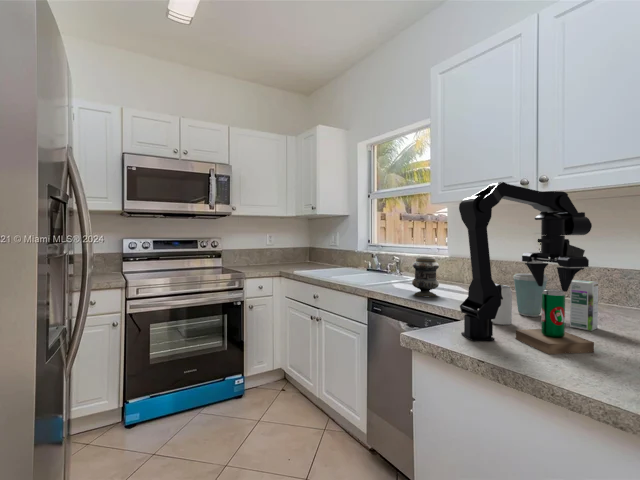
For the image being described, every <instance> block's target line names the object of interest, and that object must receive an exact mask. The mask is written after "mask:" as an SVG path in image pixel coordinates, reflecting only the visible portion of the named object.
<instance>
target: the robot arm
mask: <svg viewBox="0 0 640 480" xmlns="http://www.w3.org/2000/svg"><path fill="white" fill-rule="evenodd" d="M502 200H507V201H509V202H510V201H511V202H514V203H515V202H516V203H521V204H525V205H529V206H531V207H532V208H533V209H535V210H536V211H538V212H540V213H539V214H538V215H536V216H535V217H534V220H535V221H540V222H541V225H540V229H541V230H540V234H541V235H540V238H538V239H537V243H540V252H523V254H522V255H521V262H522V263H523V262H524V265H526V266H527V268H528V269H529V271H530V274H532V275H533V276H534V278H535V280H536V282H537V284H538V286H543V281H544V274H545V269H546V268H547V266H548V265H549V263H553V264H557V265H558V266H557V267H556V270H557V274H558V279H559V283H560V287H561V290H562V291H564V292H563V293H568V290H569V288H570V285H571V282H572V281H573V280H574V277H575V276H576V275H577V273H578V272H580V271H583V270H585V268H589V266H590V265H589V262H590V260H589V258H587V257H586V256H585V255H584V254H585V251H586V249H583V248H580V247H578V246H576V245H575V246H574V245H572V244H570V240H569V238H566V236H586V235H587V234H590V232H591V230H592V226H593V225H592V222H591V220H590V218H589V217H587V216H586V212H584V211H581V212H579V211H578V209H577V208H576V206H575V204H574V203H573V202H572V200H571V198H570V197H569V194H568V192H566V191H562V190H561V191H559V190H558V191H557V190H555V191H554V190H552V191H551V190H549V191H548V190H547V191H542V190H541V191H539V190H536V189H531V188H528V187H527V188H526V187H523V186H519V185H515V184H509V183H507V182H504V181H498V182H493V183H491V184H489V185H488V186H487V187H485V188H483V189H482V190H480V191H479V192H477V193H475V194H473V195H472V196H468V197H466V198H464V199H462V200H461V201H460V203H459V205H458V210H459V211H458V212H459V214H460V218H461V221H462V222H463V224H464V226H465V227H466V229H467V234H468V244H469V252H470V253H469V255H470V256H469V257H470V264H471V265H470V267H471V275H472V279H471V281H470V285H469V286H468V294H467V295H468V296H467V297H466V298H465V299H464V300H463V302H462V303H461V304H460V305H459V309H460V311H461V313H462V314H464V315H463V318H464V319H463V323H464V324H463V325H464V327H463V328H464V329H463V330H464V331H463V332H461V333H460V334H461V335H462V336H463V337H465V338H467V339H468V340H470V341H472V342H479V341H480V342H481V341H482V342H483V341H485V342H486V341H495V340H496V339H495V337H493V336H494V335H493V334H494V333H493V331H494V330H493V329H494V327H493V325H494V324H493V322H492V321H491V319H495V317H496V314H497V311H498V308H499V307H500V306H501V299H502V300H503V297H502V294H501V290H502V288H501V284H498V283H496V282H494V280H493V276H492V267H491V266H492V265H491V256H490V255H491V254H490V247H489V246H490V244H489V237H488V226H489V224H490V221H491V219H492V216H493V215H492V213H493V208H494V207H495V206H497V205H498V204H499V203H500V202H501V201H502Z"/></svg>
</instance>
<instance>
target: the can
mask: <svg viewBox="0 0 640 480" xmlns="http://www.w3.org/2000/svg"><path fill="white" fill-rule="evenodd" d="M500 285H501V284H500ZM501 288H502V290H501V294H502V297H503V300H502V299H501V306H500V307H499V308H498V311H497V314H496V317H495V319H491V321H492V322H493V325H499V326H510V325H511V324H512V321H513V320H512V318H513V292H512V291H513V290H512V289H511V286H509V285H504V284H502V285H501Z"/></svg>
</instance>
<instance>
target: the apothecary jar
mask: <svg viewBox="0 0 640 480" xmlns="http://www.w3.org/2000/svg"><path fill="white" fill-rule="evenodd" d="M412 268H413V269H414V271H415V273H414V279H412V281H411V284H412V286H413V287H414V288H417V289H418V290H420V291H417V292H415V293H414V296H416V295H417V296H416V297H421V296H429V297H428V298H431V297H430V296H435V297H437V294H436V293H434V292H432V291H433V290H435V289H438V287H439V285H440V282H439V280H437V270H438V269H439V268H440V264H439V263H438V261H437V260H436V257H434V256H428V255H427V256H424V255H423V256H422V255H421V256H419V255H418V256H416V258H415V261H414V262H413V263H412Z"/></svg>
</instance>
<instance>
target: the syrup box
mask: <svg viewBox="0 0 640 480" xmlns="http://www.w3.org/2000/svg"><path fill="white" fill-rule="evenodd" d="M569 288H570V292H569V293H570V294H569V295H570V300H569V303H570V305H569V308H570V310H569V328H575V329H579V330H585V331H589V332H592V331H594V330H596V329H598V323H599V321H598V319H599V318H598V317H599V281H589V280H581V279H579V280H578V279H573V280H572V282H571V284H570V286H569Z"/></svg>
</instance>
